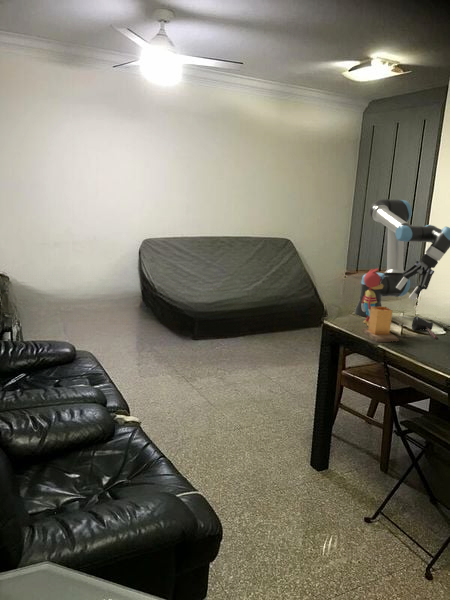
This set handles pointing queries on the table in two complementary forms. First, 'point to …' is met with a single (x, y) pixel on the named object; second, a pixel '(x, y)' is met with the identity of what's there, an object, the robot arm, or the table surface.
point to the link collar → (380, 320)
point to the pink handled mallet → (422, 325)
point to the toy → (370, 292)
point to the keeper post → (381, 336)
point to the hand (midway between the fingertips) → (404, 293)
